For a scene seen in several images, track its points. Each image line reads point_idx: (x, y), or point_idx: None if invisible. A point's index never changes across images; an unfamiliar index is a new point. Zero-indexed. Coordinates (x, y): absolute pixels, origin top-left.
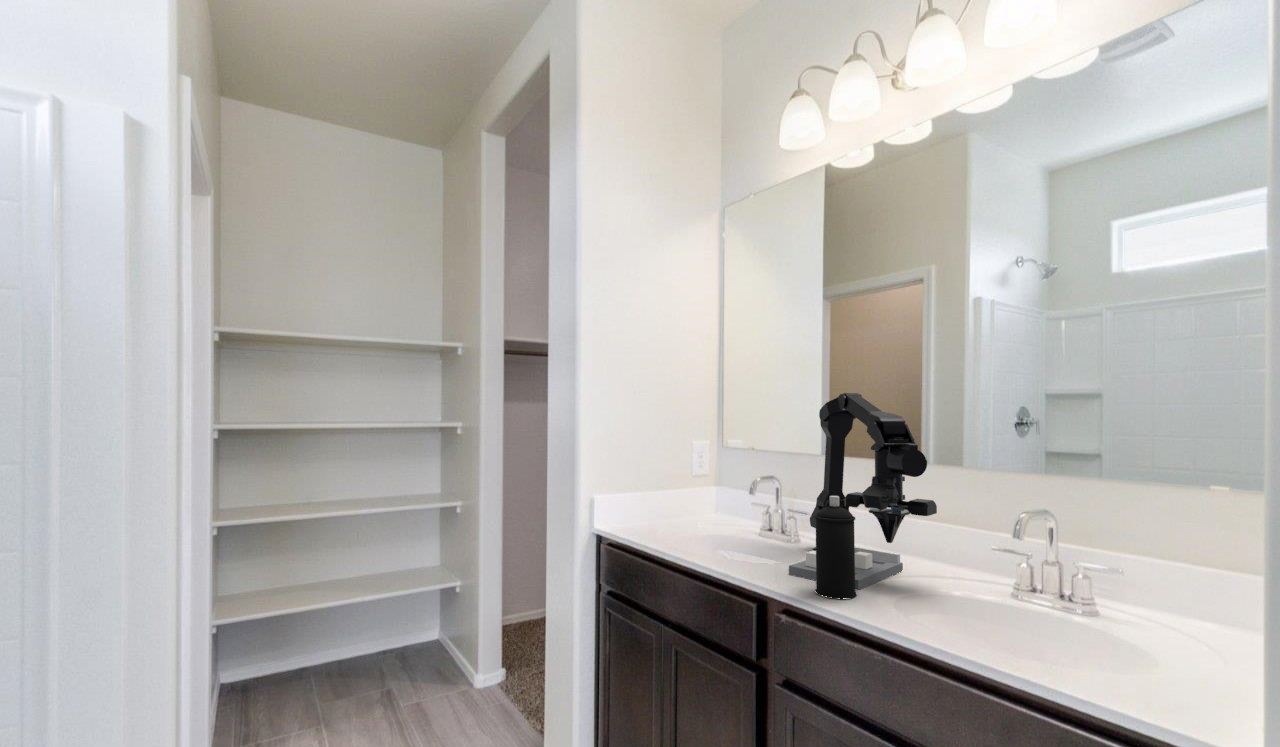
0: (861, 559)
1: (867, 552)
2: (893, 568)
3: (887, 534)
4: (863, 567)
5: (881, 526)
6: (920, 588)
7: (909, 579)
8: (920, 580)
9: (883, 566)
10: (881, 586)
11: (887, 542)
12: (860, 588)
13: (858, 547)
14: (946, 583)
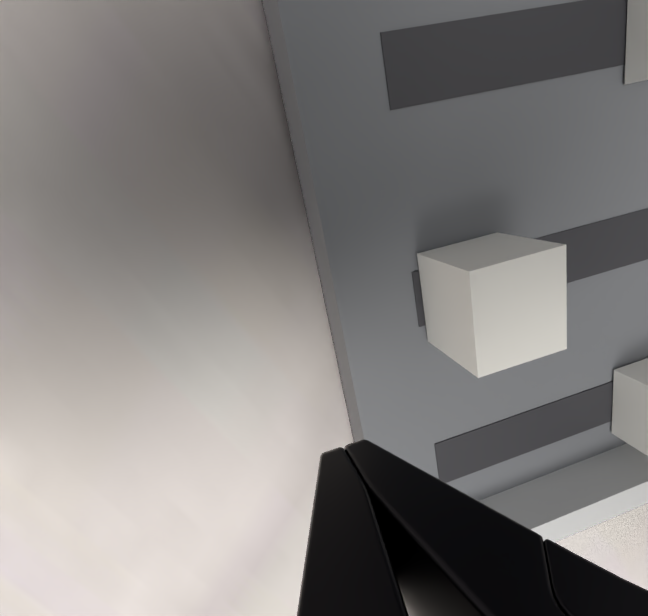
0: (481, 255)
1: (575, 493)
2: None
3: (383, 504)
4: (437, 250)
5: (559, 556)
6: (84, 366)
7: (256, 452)
8: (212, 488)
9: (401, 415)
10: (236, 187)
11: (357, 441)
12: None
13: (643, 494)
14: (99, 565)
